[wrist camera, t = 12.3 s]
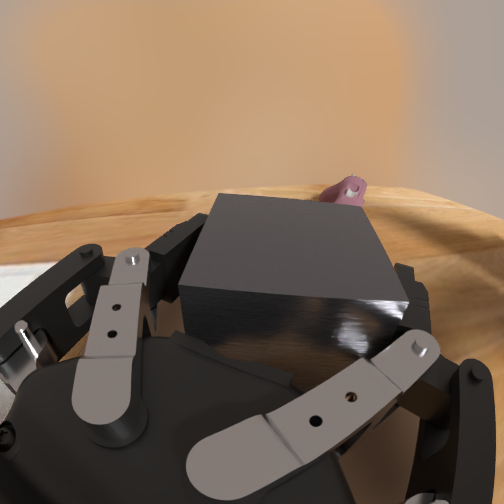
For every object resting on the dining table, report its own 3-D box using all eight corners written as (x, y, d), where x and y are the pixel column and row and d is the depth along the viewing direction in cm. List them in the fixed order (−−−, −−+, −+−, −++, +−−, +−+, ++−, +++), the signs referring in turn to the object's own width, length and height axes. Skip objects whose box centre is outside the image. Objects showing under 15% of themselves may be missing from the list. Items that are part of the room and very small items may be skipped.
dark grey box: (220, 342, 17) (218, 193, 12) (321, 350, 17) (361, 206, 12) (203, 433, 12) (178, 284, 7) (328, 440, 12) (409, 301, 7)
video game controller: (333, 253, 32) (374, 207, 28) (300, 228, 32) (338, 179, 28) (343, 217, 40) (375, 180, 36) (317, 197, 40) (347, 158, 36)
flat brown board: (402, 314, 22) (432, 240, 18) (458, 503, 9) (547, 451, 5) (127, 297, 22) (109, 217, 19) (46, 485, 9) (-36, 426, 5)
